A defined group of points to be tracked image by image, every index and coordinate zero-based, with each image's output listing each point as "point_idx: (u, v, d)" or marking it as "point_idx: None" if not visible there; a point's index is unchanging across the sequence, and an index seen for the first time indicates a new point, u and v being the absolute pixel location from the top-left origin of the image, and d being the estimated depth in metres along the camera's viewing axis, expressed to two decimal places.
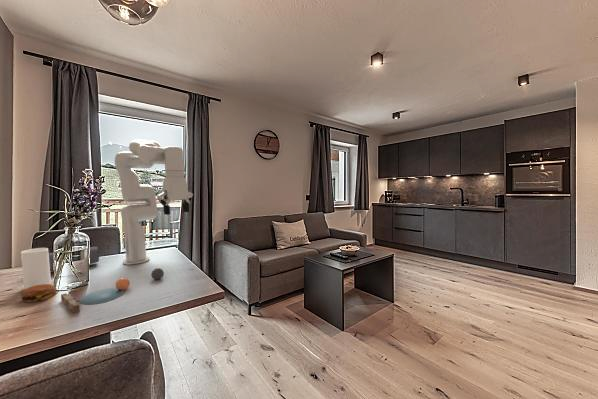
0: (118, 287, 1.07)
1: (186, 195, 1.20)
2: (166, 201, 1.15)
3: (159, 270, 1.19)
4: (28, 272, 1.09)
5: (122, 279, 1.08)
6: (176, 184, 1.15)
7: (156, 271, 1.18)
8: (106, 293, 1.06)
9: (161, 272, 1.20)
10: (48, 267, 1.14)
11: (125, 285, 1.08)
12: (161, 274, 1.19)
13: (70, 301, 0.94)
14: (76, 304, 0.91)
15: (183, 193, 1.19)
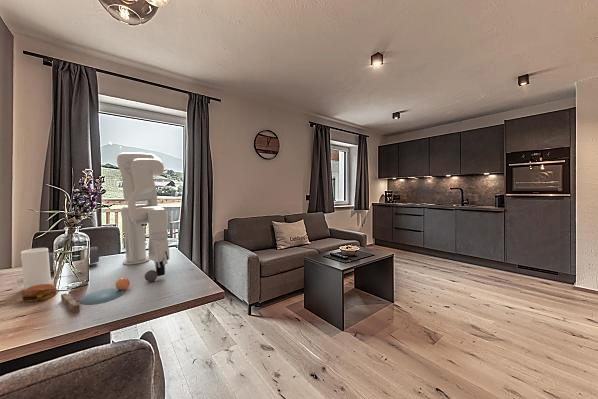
0: (118, 287, 1.07)
1: None
2: None
3: (149, 274, 1.16)
4: (28, 272, 1.09)
5: (122, 279, 1.08)
6: None
7: (148, 277, 1.15)
8: (106, 293, 1.06)
9: (153, 274, 1.16)
10: (48, 267, 1.14)
11: (125, 285, 1.08)
12: (154, 276, 1.17)
13: (70, 301, 0.94)
14: (76, 304, 0.91)
15: None
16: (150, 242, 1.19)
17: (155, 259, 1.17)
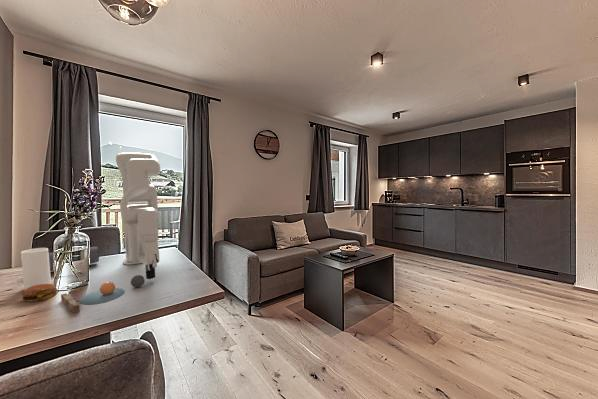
0: None
1: None
2: (149, 265, 1.16)
3: None
4: (28, 272, 1.09)
5: (103, 293, 1.03)
6: None
7: None
8: None
9: (139, 286, 1.11)
10: (48, 267, 1.14)
11: (109, 289, 1.03)
12: (139, 284, 1.11)
13: (70, 301, 0.94)
14: (76, 304, 0.91)
15: None
16: (140, 245, 1.16)
17: (144, 262, 1.14)
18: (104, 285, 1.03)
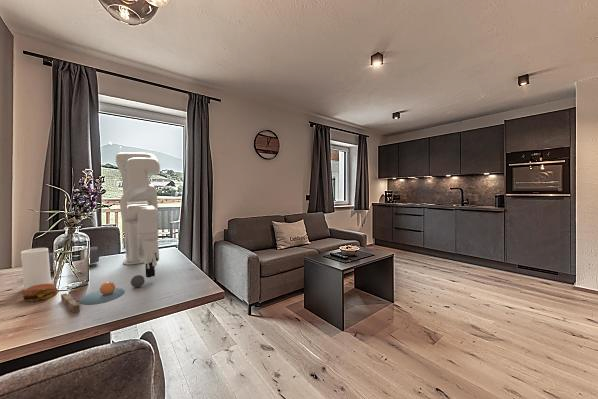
0: None
1: None
2: (148, 263, 1.16)
3: None
4: (28, 272, 1.09)
5: (103, 293, 1.03)
6: None
7: None
8: None
9: (139, 286, 1.11)
10: (48, 267, 1.14)
11: (109, 289, 1.03)
12: (139, 284, 1.11)
13: (70, 301, 0.94)
14: (76, 304, 0.91)
15: None
16: (140, 243, 1.16)
17: (144, 260, 1.14)
18: (104, 285, 1.03)
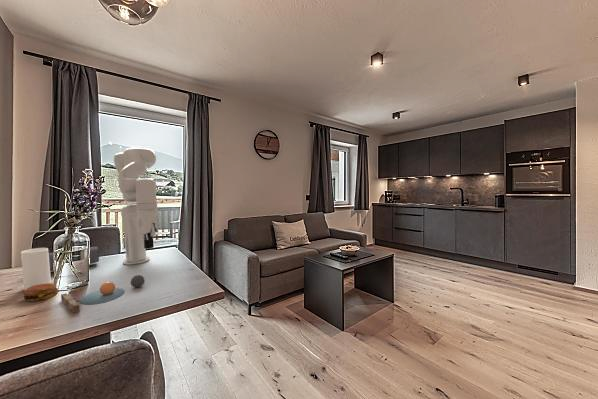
0: None
1: None
2: None
3: None
4: (28, 272, 1.09)
5: (103, 293, 1.03)
6: None
7: None
8: None
9: (139, 286, 1.11)
10: (48, 267, 1.14)
11: (109, 289, 1.03)
12: (139, 284, 1.11)
13: (70, 301, 0.94)
14: (76, 304, 0.91)
15: None
16: (138, 214, 1.15)
17: (143, 231, 1.13)
18: (104, 285, 1.03)
